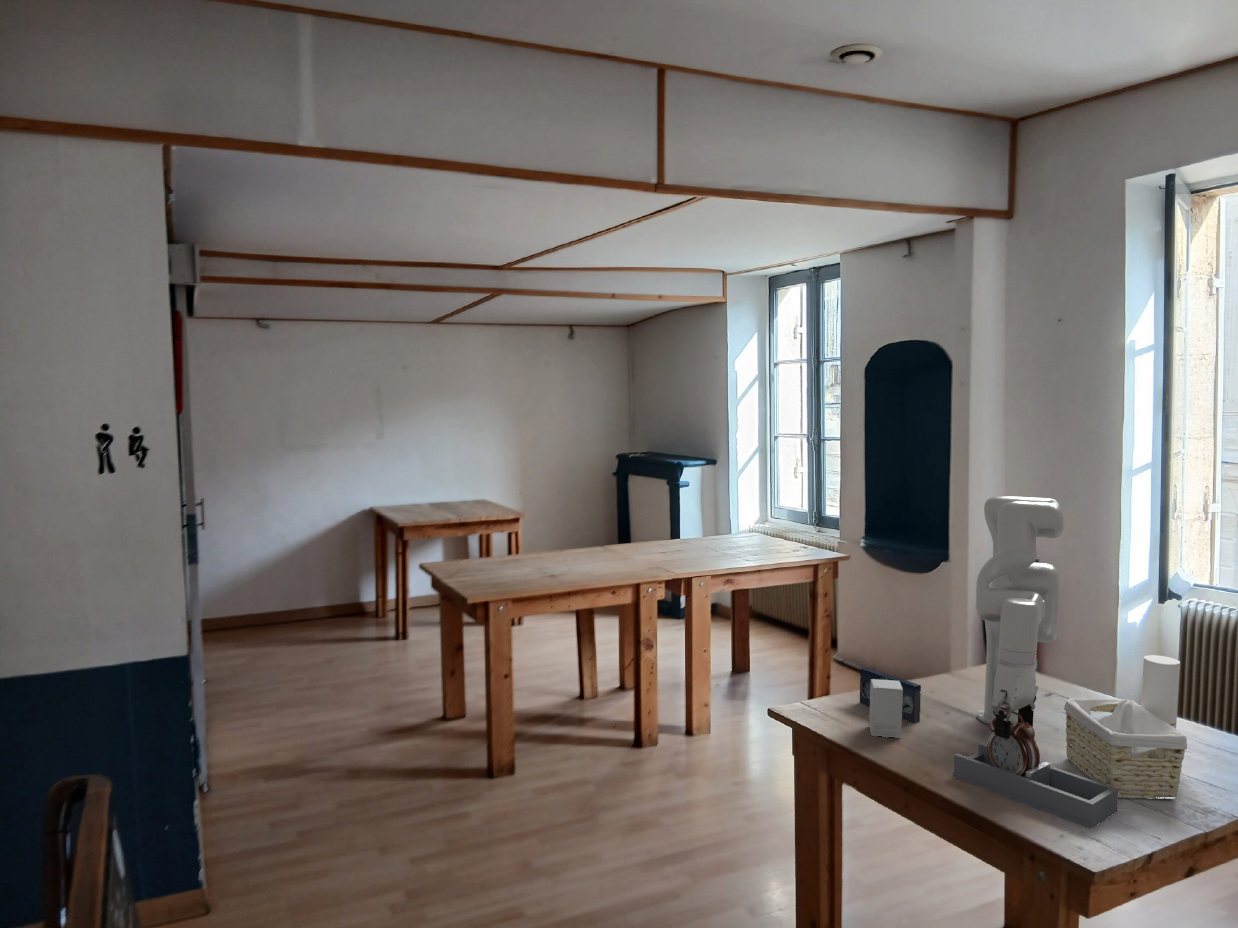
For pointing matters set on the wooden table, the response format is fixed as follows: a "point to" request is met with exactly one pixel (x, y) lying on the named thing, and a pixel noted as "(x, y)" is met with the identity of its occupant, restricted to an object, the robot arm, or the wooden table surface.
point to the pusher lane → (1042, 789)
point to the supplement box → (885, 708)
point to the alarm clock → (1014, 748)
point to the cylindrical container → (1161, 687)
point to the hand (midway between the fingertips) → (1013, 731)
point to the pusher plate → (1040, 773)
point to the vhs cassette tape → (909, 693)
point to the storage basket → (1125, 747)
